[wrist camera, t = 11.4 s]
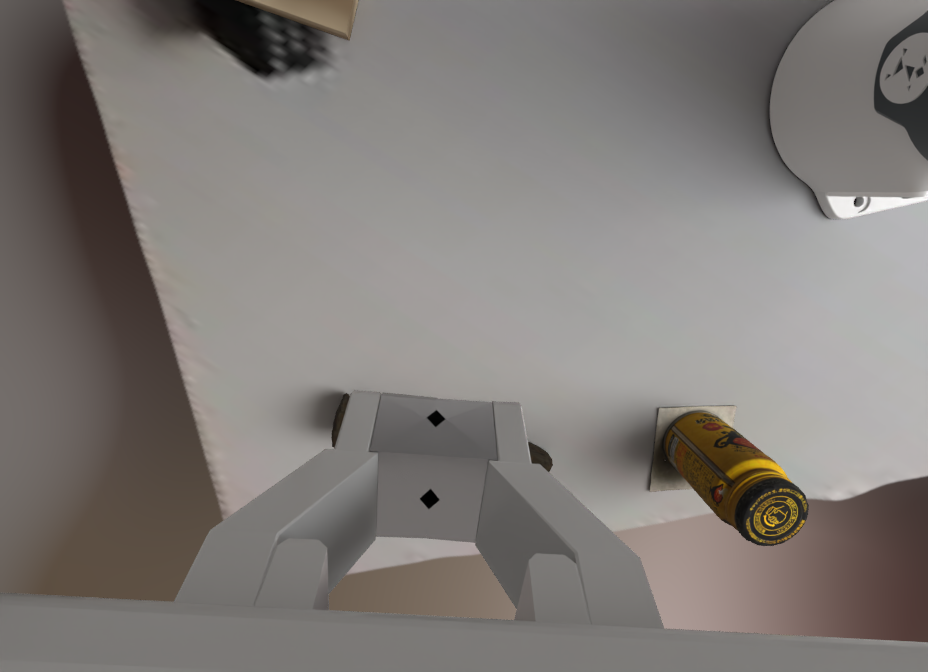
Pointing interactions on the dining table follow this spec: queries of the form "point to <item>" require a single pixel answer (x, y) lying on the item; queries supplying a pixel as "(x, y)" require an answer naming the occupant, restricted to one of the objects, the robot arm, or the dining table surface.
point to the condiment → (726, 473)
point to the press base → (314, 13)
